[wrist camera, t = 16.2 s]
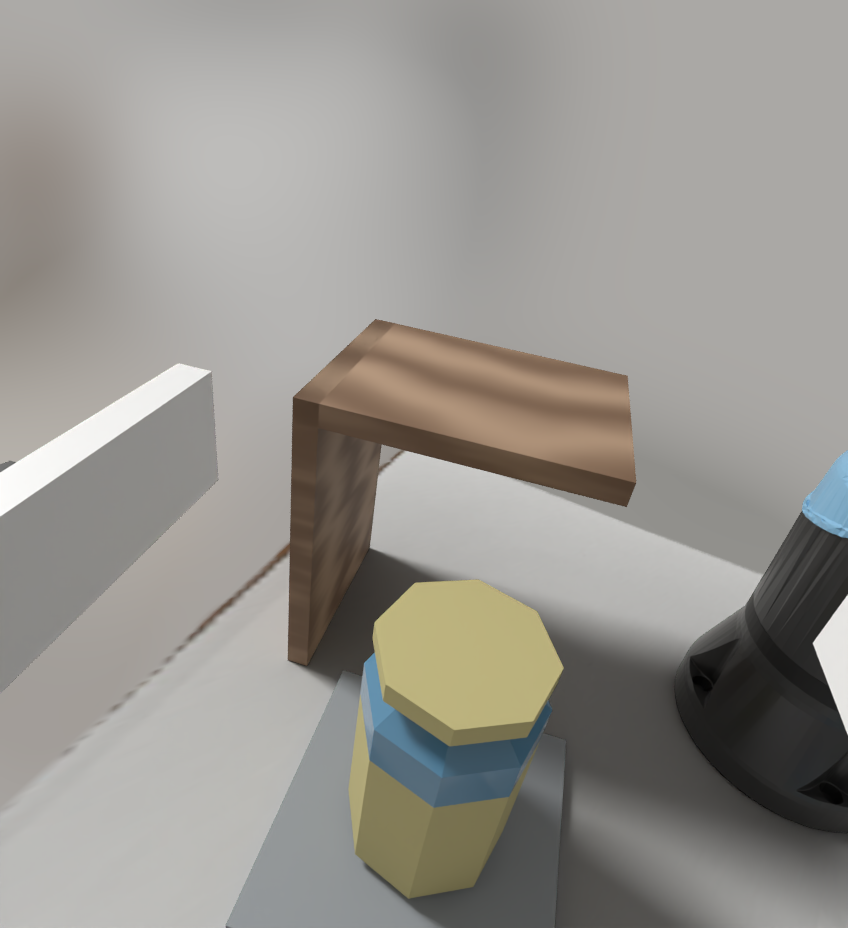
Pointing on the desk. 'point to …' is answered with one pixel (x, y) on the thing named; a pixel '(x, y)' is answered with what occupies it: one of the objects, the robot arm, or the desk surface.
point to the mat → (359, 886)
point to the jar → (446, 731)
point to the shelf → (435, 443)
